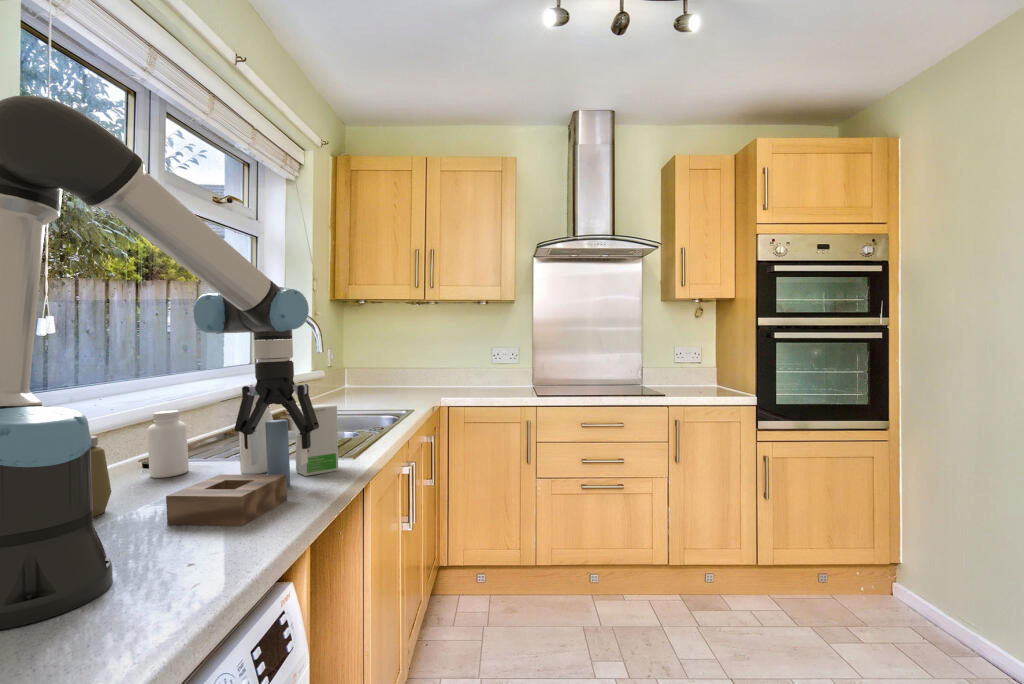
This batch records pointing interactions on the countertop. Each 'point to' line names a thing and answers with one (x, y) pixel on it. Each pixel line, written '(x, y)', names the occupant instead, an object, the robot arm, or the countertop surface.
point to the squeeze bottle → (99, 478)
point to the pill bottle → (167, 445)
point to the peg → (278, 448)
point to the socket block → (226, 500)
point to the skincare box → (321, 442)
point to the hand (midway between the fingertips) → (278, 464)
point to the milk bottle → (261, 431)
